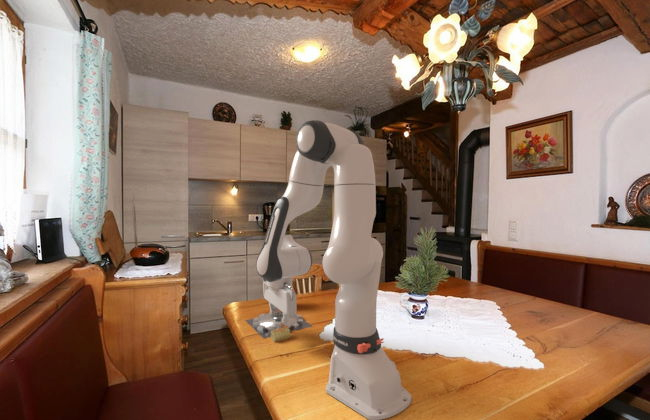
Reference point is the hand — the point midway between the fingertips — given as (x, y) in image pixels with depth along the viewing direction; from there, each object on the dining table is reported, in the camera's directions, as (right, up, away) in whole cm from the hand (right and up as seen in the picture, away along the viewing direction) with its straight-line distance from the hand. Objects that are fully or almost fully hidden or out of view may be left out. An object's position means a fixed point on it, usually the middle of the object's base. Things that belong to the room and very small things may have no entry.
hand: (278, 318), depth 106 cm
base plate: (-2, -8, +13) cm, 15 cm away
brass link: (+1, -8, 0) cm, 8 cm away
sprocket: (-2, -7, +13) cm, 15 cm away
